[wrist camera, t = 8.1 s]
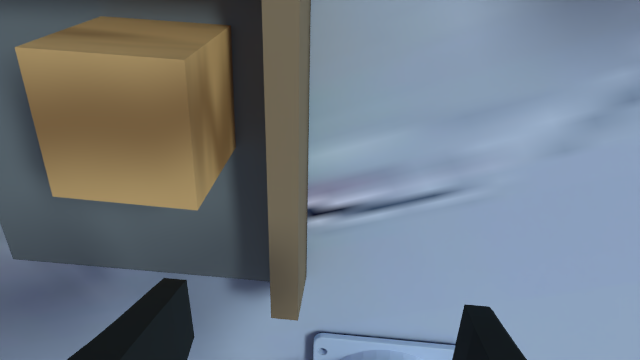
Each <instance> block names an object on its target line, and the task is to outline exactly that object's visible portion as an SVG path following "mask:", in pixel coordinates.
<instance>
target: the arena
mask: <svg viewBox="0 0 640 360" xmlns="http://www.w3.org/2000/svg"><path fill="white" fill-rule="evenodd" d="M310 10H311V0H0V223H1V225H2V228H3V231H4V234H5V237H6V240H7V243H8V245H9V248H10V251H11V254H12V257H13V259H19V260H30V261H42V262H53V263H65V264H76V265H88V266H99V267H111V268H122V269H134V270H145V271H156V272H168V273H179V274H191V275H202V276H214V277H225V278H237V279H248V280H260V281H270V296H271V318H278V319H289V320H298V317H299V312H300V306H301V301H302V296H303V291H304V286H305V280H306V260H307V197H308V135H309V72H310ZM100 16H105V17H119V18H134V19H148V20H162V21H176V22H191V23H205V24H219V25H231V41H232V66H233V91H234V116H235V141H236V148H235V150H234V151H233V153H232V155H231V156H230V158H229V160H228V161H227V163H226V164H225V166H224V168H223V169H222V171H221V173H220V174H219V176H218V178H217V179H216V181H215V183H214V184H213V186H212V188H211V189H210V191H209V193H208V194H207V196H206V197H205V199H204V201H203V202H202V204H201V206H200V207H199V209H198V210H187V209H177V208H166V207H156V206H146V205H135V204H125V203H114V202H104V201H93V200H83V199H73V198H62V197H53V196H52V192H51V188H50V184H49V180H48V176H47V172H46V168H45V165H44V161H43V157H42V153H41V149H40V145H39V141H38V137H37V133H36V129H35V125H34V121H33V117H32V114H31V110H30V106H29V102H28V98H27V94H26V90H25V86H24V82H23V78H22V74H21V70H20V66H19V63H18V59H17V55H16V51H15V47H16V46H19V45H22V44H25V43H28V42H30V41H33V40H36V39H39V38H42V37H44V36H47V35H50V34H53V33H55V32H58V31H61V30H64V29H67V28H69V27H72V26H75V25H78V24H81V23H83V22H86V21H89V20H92V19H95V18H97V17H100Z"/></svg>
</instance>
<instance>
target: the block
mask: <svg viewBox="0 0 640 360" xmlns="http://www.w3.org/2000/svg"><path fill="white" fill-rule="evenodd" d="M15 51H16V55H17V59H18V63H19V66H20V70H21V74H22V78H23V82H24V86H25V90H26V94H27V98H28V102H29V106H30V110H31V114H32V117H33V121H34V125H35V129H36V133H37V137H38V141H39V145H40V149H41V153H42V157H43V161H44V165H45V168H46V172H47V176H48V180H49V184H50V188H51V192H52V196H53V197H62V198H73V199H83V200H93V201H104V202H114V203H125V204H135V205H146V206H156V207H166V208H177V209H187V210H198V209H199V207H200V206H201V204H202V202H203V201H204V199H205V197H206V196H207V194H208V193H209V191H210V189H211V188H212V186H213V184H214V183H215V181H216V179H217V178H218V176H219V174H220V173H221V171H222V169H223V168H224V166H225V164H226V163H227V161H228V160H229V158H230V156H231V155H232V153H233V151H234V150H235V148H236V141H235V116H234V91H233V66H232V41H231V25H219V24H205V23H191V22H176V21H162V20H148V19H134V18H119V17H105V16H100V17H97V18H95V19H92V20H89V21H86V22H83V23H81V24H78V25H75V26H72V27H69V28H67V29H64V30H61V31H58V32H55V33H53V34H50V35H47V36H44V37H42V38H39V39H36V40H33V41H30V42H28V43H25V44H22V45H19V46H16V47H15Z"/></svg>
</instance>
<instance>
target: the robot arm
mask: <svg viewBox="0 0 640 360" xmlns="http://www.w3.org/2000/svg"><path fill="white" fill-rule="evenodd" d="M193 339H194V331H193V324H192V317H191V309H190V302H189V295H188V288H187V280H180V279H169V278H164V279H162V280H161V281H160V282H159V283H158V284H157V285H155V286H154V287H153V288H152V289H151V290H150V291H149V292H147V293H146V294H145V295H144V296H143V297H142V298H141V299H140V300H138V301H137V302H136V303H135V304H134V305H133V306H132V307H131V308H129V309H128V310H127V311H126V312H125V313H124V314H123V315H121V316H120V317H119V318H118V319H117V320H116V321H114V322H113V323H112V324H111V325H110V326H108V327H107V328H106V329H105V330H104V331H103V332H101V333H100V334H99V335H98V336H97V337H95V338H94V339H93V340H92V341H90V342H89V343H88V344H86V345H85V346H84V347H83V348H81V349H80V350H79V351H77V352H76V353H75V354H74V355H72V356H71V357H70V358H69V359H67V360H187V358H188V355H189V352H190V349H191V345H192V342H193ZM320 348H324V349H320ZM313 360H527V359H526V358H525V357H524V355H523V354H522V353H521V351H520V350H519V348H518V347H517V345H516V344H515V343H514V341H513V340H512V338H511V337H510V335H509V334H508V333H507V331H506V330H505V328H504V327H503V325H502V324H501V322H500V321H499V319H498V318H497V316H496V315H495V313H494V312H493V310H492V309H491V308H490V307H486V306H475V305H464V310H463V314H462V318H461V323H460V327H459V332H458V336H457V341H456V345H445V344H435V343H424V342H414V341H403V340H392V339H382V338H371V337H361V336H350V335H340V334H329V333H319V334H317V335H316V336H315V337H314V343H313Z"/></svg>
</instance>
